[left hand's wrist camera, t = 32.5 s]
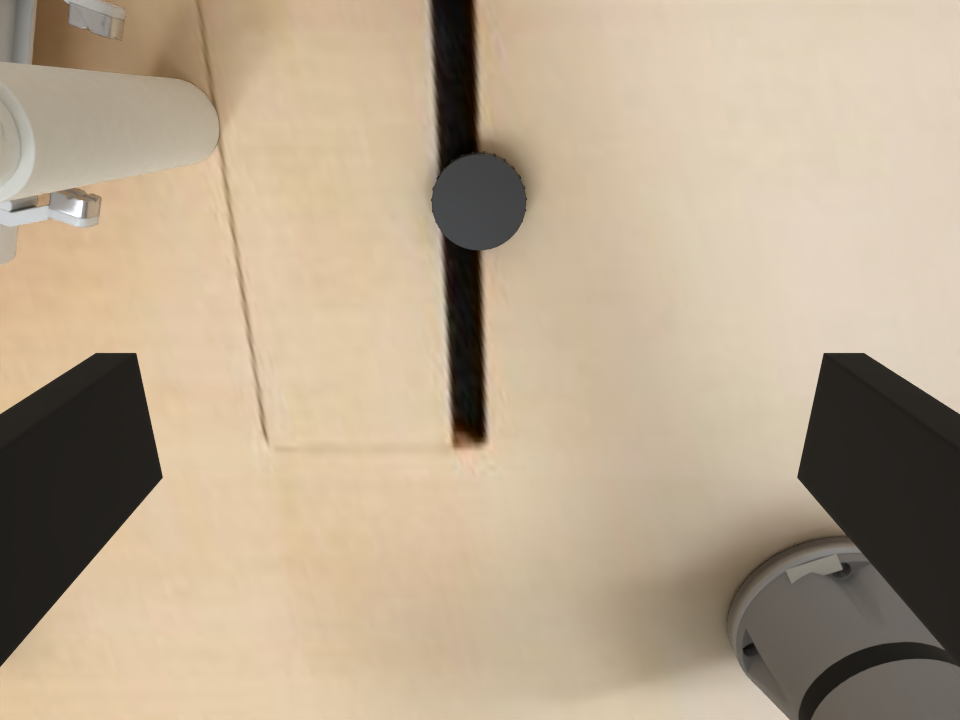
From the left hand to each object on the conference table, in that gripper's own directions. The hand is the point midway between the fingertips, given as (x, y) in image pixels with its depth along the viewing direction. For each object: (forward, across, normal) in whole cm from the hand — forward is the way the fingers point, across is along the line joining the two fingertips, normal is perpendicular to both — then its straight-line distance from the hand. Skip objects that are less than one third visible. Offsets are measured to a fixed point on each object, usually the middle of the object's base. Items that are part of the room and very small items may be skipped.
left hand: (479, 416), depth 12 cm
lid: (+28, 0, 0) cm, 28 cm away
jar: (+29, +18, -5) cm, 35 cm away
